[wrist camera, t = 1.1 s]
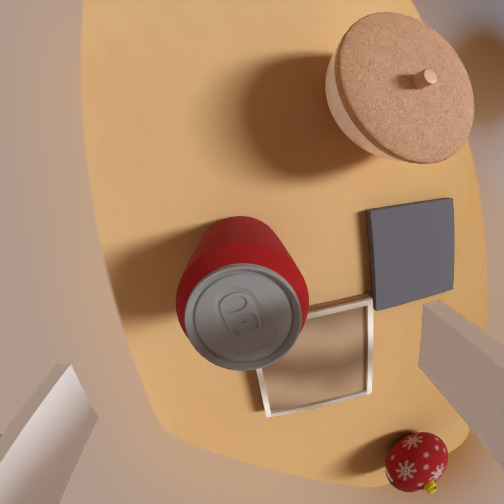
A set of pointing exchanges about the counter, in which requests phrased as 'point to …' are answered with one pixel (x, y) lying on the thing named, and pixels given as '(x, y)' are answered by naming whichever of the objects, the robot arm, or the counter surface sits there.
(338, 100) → the lidded jar
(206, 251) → the beverage can
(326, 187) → the counter surface
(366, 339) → the board
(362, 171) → the counter surface
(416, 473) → the christmas ornament
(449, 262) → the pad
